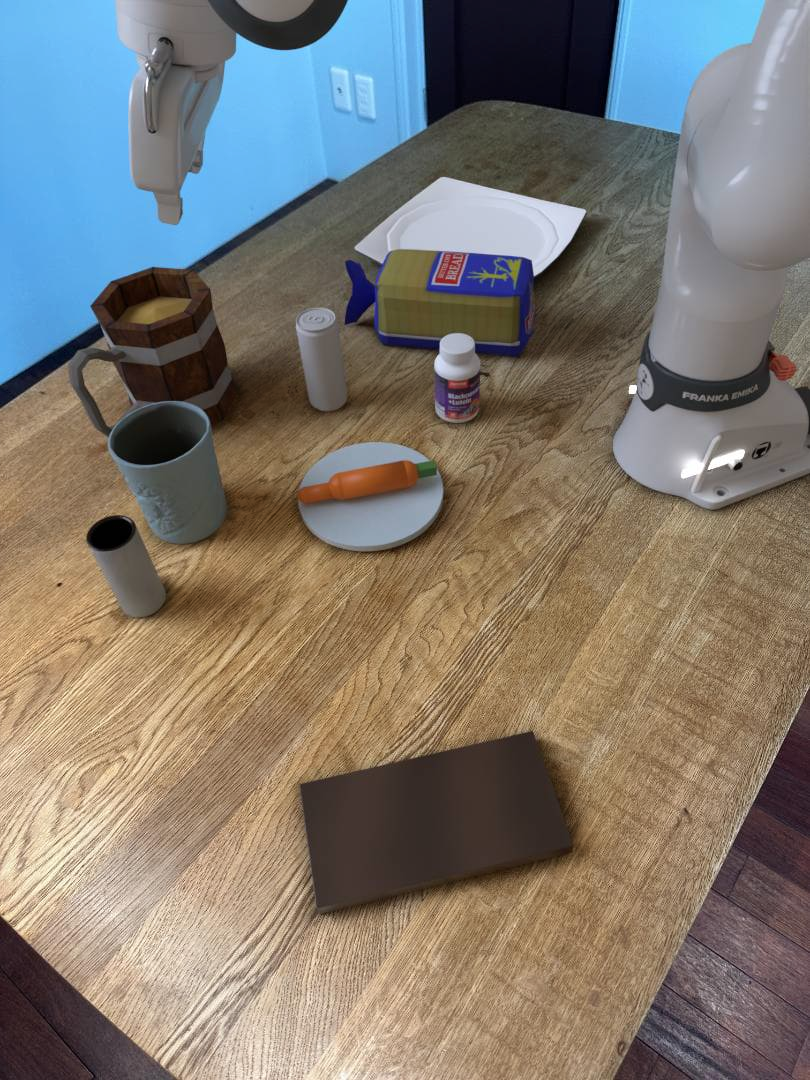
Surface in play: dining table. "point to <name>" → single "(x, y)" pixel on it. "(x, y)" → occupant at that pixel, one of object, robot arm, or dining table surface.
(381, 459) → the side plate
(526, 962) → the dining table surface
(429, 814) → the cutting board
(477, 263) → the bread
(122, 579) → the grey hollow cylinder
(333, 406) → the beverage can
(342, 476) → the carrot
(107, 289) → the mug
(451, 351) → the pill bottle
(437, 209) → the plate
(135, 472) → the blue cup
